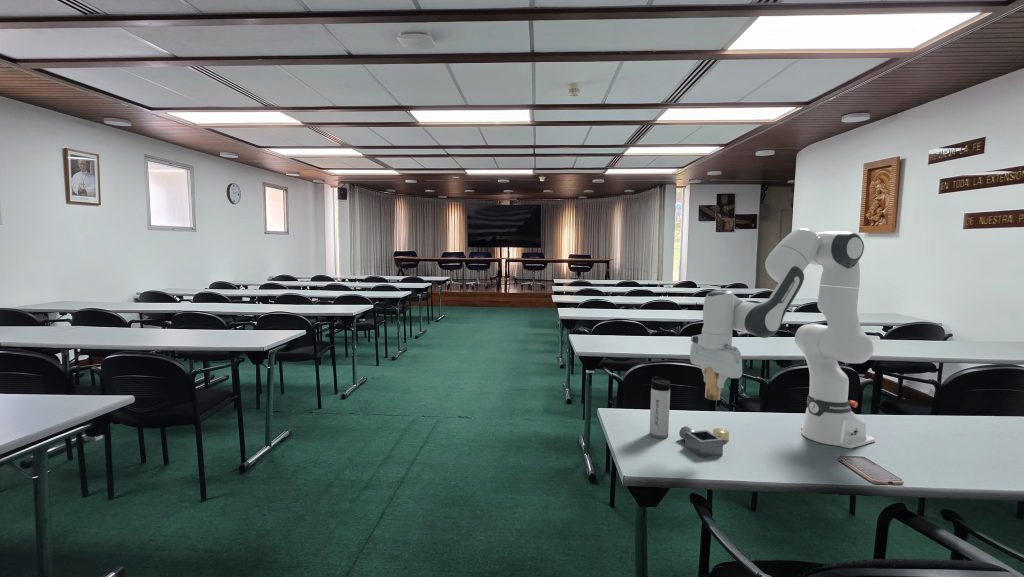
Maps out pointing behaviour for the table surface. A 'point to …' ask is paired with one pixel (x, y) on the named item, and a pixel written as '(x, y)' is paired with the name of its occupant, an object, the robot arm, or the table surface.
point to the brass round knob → (721, 434)
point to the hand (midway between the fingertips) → (713, 384)
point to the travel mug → (659, 407)
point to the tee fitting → (702, 442)
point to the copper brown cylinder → (712, 385)
